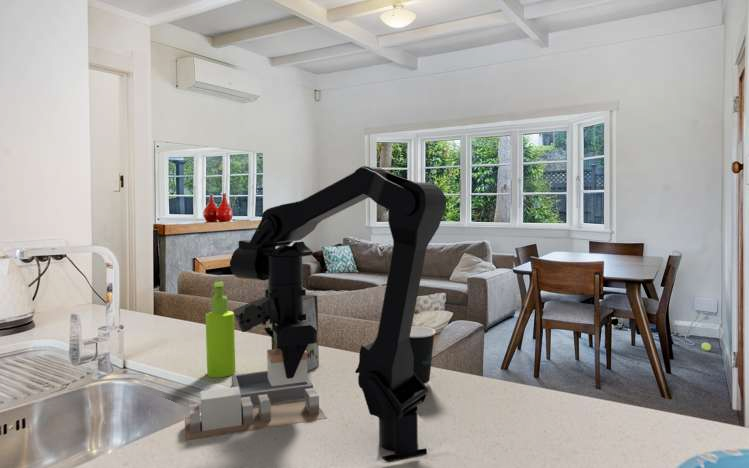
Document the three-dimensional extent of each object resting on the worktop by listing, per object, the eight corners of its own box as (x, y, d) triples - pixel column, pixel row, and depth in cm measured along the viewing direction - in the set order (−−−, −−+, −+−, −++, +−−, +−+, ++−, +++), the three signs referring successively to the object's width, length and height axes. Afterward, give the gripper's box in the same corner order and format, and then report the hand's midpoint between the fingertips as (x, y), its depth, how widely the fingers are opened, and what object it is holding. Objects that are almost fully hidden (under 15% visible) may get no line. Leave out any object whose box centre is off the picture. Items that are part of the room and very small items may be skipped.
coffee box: (320, 365, 118) (319, 294, 117) (304, 373, 112) (302, 299, 111) (287, 360, 122) (286, 292, 121) (270, 367, 116) (268, 296, 115)
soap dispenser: (206, 380, 108) (203, 285, 107) (207, 370, 115) (205, 280, 114) (235, 377, 110) (233, 283, 109) (235, 367, 116) (233, 279, 115)
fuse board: (327, 424, 86) (326, 400, 86) (185, 446, 78) (184, 421, 78) (314, 404, 94) (313, 382, 94) (185, 423, 87) (184, 400, 86)
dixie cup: (438, 391, 100) (438, 335, 100) (397, 392, 100) (396, 335, 99) (433, 377, 108) (432, 325, 108) (395, 378, 108) (394, 326, 107)
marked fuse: (307, 381, 87) (307, 352, 87) (271, 386, 85) (270, 356, 85) (302, 374, 91) (301, 346, 90) (267, 378, 89) (267, 349, 88)
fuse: (241, 424, 83) (240, 394, 83) (202, 431, 81) (201, 399, 81) (239, 415, 87) (238, 386, 87) (201, 421, 85) (200, 391, 85)
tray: (313, 401, 96) (313, 385, 96) (237, 412, 91) (237, 395, 91) (300, 381, 107) (299, 366, 107) (231, 390, 102) (231, 375, 102)
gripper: (230, 278, 93) (233, 363, 94) (242, 294, 75) (244, 400, 76) (292, 274, 97) (294, 357, 98) (317, 289, 79) (318, 389, 80)
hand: (287, 374), depth 88 cm, fingers closed on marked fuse, 4 cm apart
